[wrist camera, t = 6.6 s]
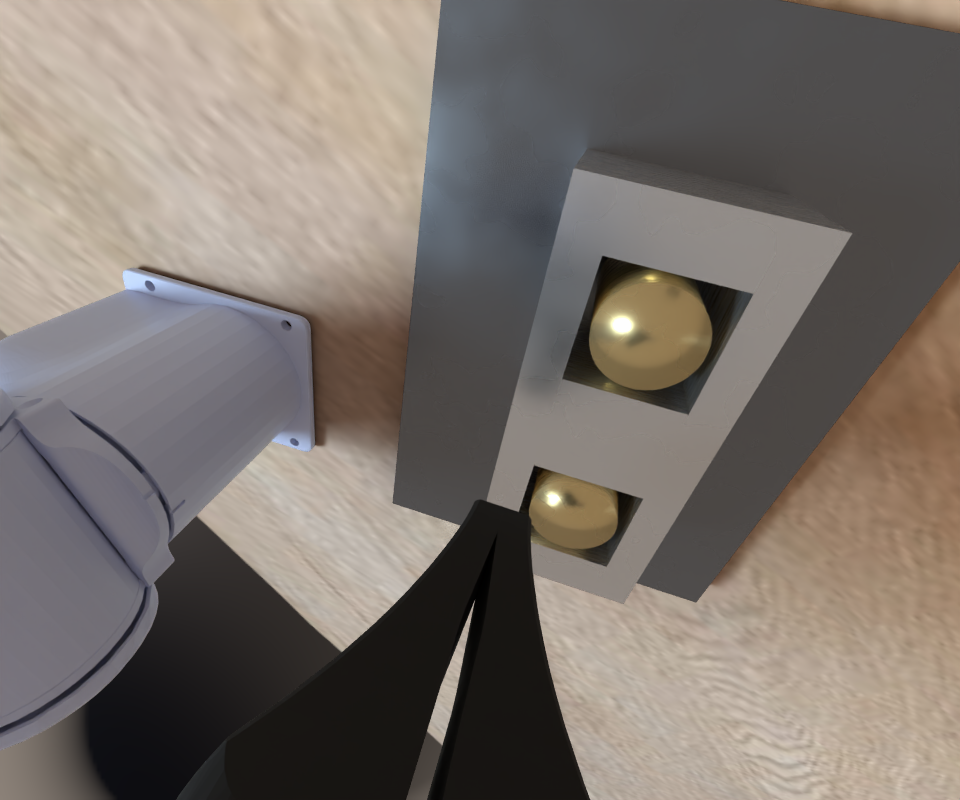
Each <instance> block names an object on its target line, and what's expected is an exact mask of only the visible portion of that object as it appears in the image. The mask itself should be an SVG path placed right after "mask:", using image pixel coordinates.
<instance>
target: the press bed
mask: <svg viewBox="0 0 960 800" xmlns="http://www.w3.org/2000/svg"><path fill="white" fill-rule="evenodd" d="M586 149H591V150H596V151H600V152H604V153H609V154H613V155H618V156H622V157H626V158H631V159H635V160H640V161H644V162H648V163H653V164H657V165H661V166H666V167H670V168H675V169H679V170H683V171H688V172H692V173H696V174H701V175H705V176H710V177H714V178H718V179H723V180H727V181H731V182H736V183H740V184H745V185H749V186H753V187H758V188H762V189H766V190H771V191H775V192H780V193H784V194H788V195H792V196H794V197H795V198H797V199H798V200H800V201H802V202H803V203H805V204H806V205H808V206H810V207H811V208H813V209H814V210H816V211H818V212H819V213H821V214H822V215H824V216H826V217H827V218H829V219H830V220H832V221H834V222H835V223H837V224H838V225H840V226H842V227H843V228H845V229H846V230H848V231H850V232H851V233H852V235H851V237H850V238H849V240H848V241H847V243H846V245H845V246H844V248H843V249H842V251H841V253H840V254H839V256H838V258H837V259H836V261H835V262H834V264H833V266H832V267H831V269H830V270H829V272H828V274H827V275H826V277H825V279H824V280H823V282H822V283H821V285H820V287H819V288H818V290H817V292H816V293H815V295H814V296H813V298H812V300H811V301H810V303H809V304H808V306H807V308H806V309H805V311H804V313H803V314H802V316H801V317H800V319H799V321H798V322H797V324H796V325H795V327H794V329H793V330H792V332H791V334H790V335H789V337H788V338H787V340H786V342H785V343H784V345H783V347H782V348H781V350H780V351H779V353H778V355H777V356H776V358H775V359H774V361H773V363H772V364H771V366H770V368H769V369H768V371H767V372H766V374H765V376H764V377H763V379H762V381H761V382H760V384H759V385H758V387H757V389H756V390H755V392H754V393H753V395H752V397H751V398H750V400H749V402H748V403H747V405H746V406H745V408H744V410H743V411H742V413H741V414H740V416H739V418H738V419H737V421H736V423H735V424H734V426H733V427H732V429H731V431H730V432H729V434H728V436H727V437H726V439H725V440H724V442H723V444H722V445H721V447H720V448H719V450H718V452H717V453H716V455H715V457H714V458H713V460H712V461H711V463H710V465H709V466H708V468H707V469H706V471H705V473H704V474H703V476H702V478H701V479H700V481H699V482H698V484H697V486H696V487H695V489H694V491H693V492H692V494H691V495H690V497H689V499H688V500H687V502H686V503H685V505H684V507H683V508H682V510H681V512H680V513H679V515H678V516H677V518H676V520H675V521H674V523H673V524H672V526H671V528H670V529H669V531H668V533H667V534H666V536H665V537H664V539H663V541H662V542H661V544H660V546H659V547H658V549H657V550H656V552H655V554H654V555H653V557H652V558H651V560H650V562H649V563H648V565H647V567H646V568H645V570H644V571H643V573H642V575H641V576H640V578H639V579H638V581H637V583H638V584H641V585H644V586H647V587H650V588H653V589H656V590H659V591H662V592H666V593H669V594H672V595H675V596H678V597H681V598H684V599H687V600H690V601H693V602H697V601H698V599H699V598H700V597H701V595H702V594H703V593H704V592H705V590H706V589H707V588H708V586H709V585H710V584H711V582H712V581H713V580H714V579H715V577H716V576H717V575H718V573H719V572H720V571H721V570H722V568H723V567H724V566H725V564H726V563H727V562H728V560H729V559H730V558H731V557H732V555H733V554H734V553H735V551H736V550H737V549H738V548H739V546H740V545H741V544H742V542H743V541H744V540H745V538H746V537H747V536H748V535H749V533H750V532H751V531H752V529H753V528H754V527H755V526H756V524H757V523H758V522H759V520H760V519H761V518H762V516H763V515H764V514H765V513H766V511H767V510H768V509H769V507H770V506H771V505H772V504H773V502H774V501H775V500H776V498H777V497H778V496H779V495H780V493H781V492H782V491H783V489H784V488H785V487H786V485H787V484H788V483H789V482H790V480H791V479H792V478H793V476H794V475H795V474H796V473H797V471H798V470H799V469H800V467H801V466H802V465H803V463H804V462H805V461H806V460H807V458H808V457H809V456H810V454H811V453H812V452H813V451H814V449H815V448H816V447H817V445H818V444H819V443H820V441H821V440H822V439H823V438H824V436H825V435H826V434H827V432H828V431H829V430H830V429H831V427H832V426H833V425H834V423H835V422H836V421H837V419H838V418H839V417H840V416H841V414H842V413H843V412H844V410H845V409H846V408H847V407H848V405H849V404H850V403H851V401H852V400H853V399H854V398H855V396H856V395H857V394H858V392H859V391H860V390H861V388H862V387H863V386H864V385H865V383H866V382H867V381H868V379H869V378H870V377H871V376H872V374H873V373H874V372H875V370H876V369H877V368H878V366H879V365H880V364H881V363H882V361H883V360H884V359H885V357H886V356H887V355H888V354H889V352H890V351H891V350H892V348H893V347H894V346H895V344H896V343H897V342H898V341H899V339H900V338H901V337H902V335H903V334H904V333H905V332H906V330H907V329H908V328H909V326H910V325H911V324H912V322H913V321H914V320H915V319H916V317H917V316H918V315H919V313H920V312H921V311H922V310H923V308H924V307H925V306H926V304H927V303H928V302H929V301H930V299H931V298H932V297H933V295H934V294H935V293H936V291H937V290H938V289H939V288H940V286H941V285H942V284H943V282H944V281H945V280H946V279H947V277H948V276H949V275H950V273H951V272H952V271H953V269H954V268H955V267H956V266H957V264H958V263H959V262H960V34H959V33H954V32H949V31H943V30H938V29H932V28H927V27H921V26H916V25H911V24H905V23H900V22H894V21H889V20H884V19H878V18H873V17H867V16H862V15H857V14H851V13H846V12H840V11H835V10H830V9H824V8H819V7H813V6H808V5H803V4H797V3H792V2H786V1H781V0H441V9H440V19H439V29H438V40H437V50H436V60H435V71H434V81H433V91H432V102H431V112H430V122H429V133H428V143H427V154H426V164H425V174H424V185H423V195H422V205H421V216H420V226H419V236H418V247H417V257H416V267H415V278H414V288H413V298H412V309H411V319H410V329H409V340H408V350H407V360H406V371H405V381H404V392H403V402H402V412H401V423H400V433H399V443H398V454H397V464H396V474H395V485H394V495H393V503H394V504H397V505H400V506H403V507H406V508H409V509H412V510H415V511H418V512H421V513H424V514H427V515H430V516H433V517H436V518H439V519H442V520H446V521H449V522H452V523H455V524H458V525H462V523H463V522H464V520H465V518H466V517H467V515H468V513H469V512H470V510H471V508H472V506H473V504H474V502H475V501H476V500H479V499H481V500H484V501H487V497H488V493H489V489H490V485H491V482H492V478H493V474H494V470H495V466H496V463H497V459H498V455H499V451H500V447H501V443H502V440H503V436H504V432H505V428H506V424H507V421H508V417H509V413H510V409H511V405H512V402H513V398H514V394H515V390H516V386H517V382H518V379H519V375H520V371H521V367H522V363H523V360H524V356H525V352H526V348H527V344H528V341H529V337H530V333H531V329H532V325H533V322H534V318H535V314H536V310H537V306H538V302H539V299H540V295H541V291H542V287H543V283H544V280H545V276H546V272H547V268H548V264H549V261H550V257H551V253H552V249H553V245H554V241H555V238H556V234H557V230H558V226H559V222H560V219H561V215H562V211H563V207H564V203H565V200H566V196H567V192H568V188H569V184H570V181H571V177H572V173H573V169H574V167H575V166H576V164H577V163H578V161H579V160H580V158H581V157H582V155H583V154H584V152H585V151H586ZM607 258H608V257H606V256H602V258H601V261H600V264H599V267H598V270H597V273H596V276H595V279H594V282H593V285H592V288H591V292H590V295H589V298H588V301H587V304H586V307H585V310H584V313H583V316H582V320H586V321H589V322H591V321H592V314H593V308H594V301H595V294H596V288H597V281H598V276H599V273H600V270H601V268H602V266H603V264H604V262H605V261H606V260H607ZM695 281H696V283H697V286H698V289H699V292H700V290H701V288H702V286H703V283H704V281H701V280H697V279H695Z"/></svg>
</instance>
